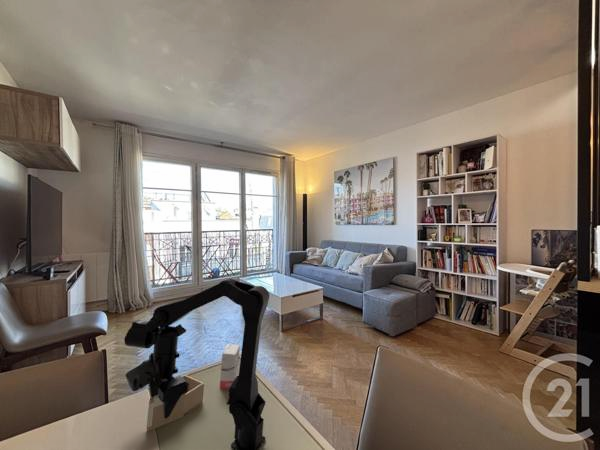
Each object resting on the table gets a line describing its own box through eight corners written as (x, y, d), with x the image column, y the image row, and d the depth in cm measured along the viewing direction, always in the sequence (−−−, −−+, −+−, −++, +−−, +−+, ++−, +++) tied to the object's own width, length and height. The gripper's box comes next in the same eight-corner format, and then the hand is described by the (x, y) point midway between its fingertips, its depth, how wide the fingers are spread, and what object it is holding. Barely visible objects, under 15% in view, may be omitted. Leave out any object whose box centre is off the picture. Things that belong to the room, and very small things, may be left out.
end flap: (181, 414, 72) (184, 386, 73) (183, 417, 71) (185, 388, 72) (146, 429, 66) (149, 398, 67) (147, 432, 65) (150, 401, 66)
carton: (202, 402, 78) (204, 383, 79) (184, 415, 72) (185, 394, 73) (183, 393, 82) (184, 374, 83) (164, 404, 76) (165, 384, 77)
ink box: (233, 389, 86) (235, 354, 87) (218, 388, 86) (221, 353, 87) (238, 375, 95) (240, 343, 96) (225, 375, 95) (227, 343, 95)
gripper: (121, 346, 68) (115, 405, 68) (143, 374, 56) (136, 446, 55) (164, 336, 77) (159, 388, 76) (192, 358, 64) (186, 421, 63)
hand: (159, 408), depth 67 cm, fingers open, 9 cm apart
